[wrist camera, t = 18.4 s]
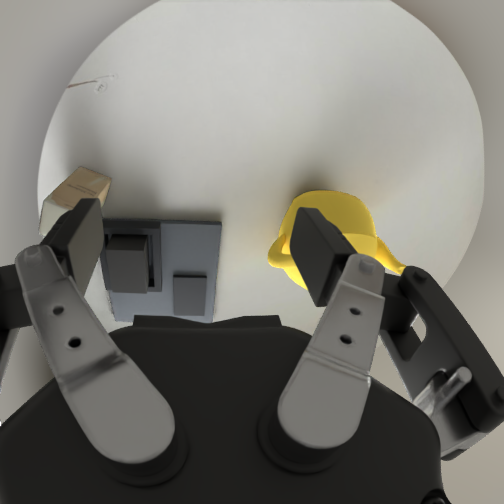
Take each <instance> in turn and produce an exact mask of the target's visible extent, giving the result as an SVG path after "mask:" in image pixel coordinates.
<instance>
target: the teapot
mask: <svg viewBox="0 0 504 504" xmlns="http://www.w3.org/2000/svg"><path fill="white" fill-rule="evenodd" d="M299 207H308V208H317V209H318V210H319V211H320V212H321V213H322V215H323V216H324V217H325V218H326V220H328V221H330V222H331V223H333V224H334V225H335V226H337V227H338V228H339V230H340V231H341V232H342V235H344V236H345V237H346V238H347V240H348V241H349V242H350V243H351V245H352V246H353V247H354V248H355V250H356V251H357V252H358V253H360V254H365V255H368V256H371V257H373V258H375V259H376V260H378V261H379V262H380V263H381V264H382V265H383V266H385V267H387V268H388V269H390V270H392V271H394V272H396V273H398V274H402V272H403V270H404V268H405V267H406V265H404V264H402V263H400V262H399V261H398V260H397V259H396V258H395V257H394V256H393V255H392V253H391V252H390V250H389V249H388V247H387V246H386V245H385V243H384V242H383V241H382V240H381V239H380V238H379V237H377V236H376V230H375V225H374V222H373V219H372V216H371V214H370V212H369V211H368V209H367V207H366V206H365V205H364V204H363V202H362V201H361V200H360V199H358V198H357V197H355V196H352V195H349V194H346V193H342V192H338V191H329V190H317V191H309V192H306V193H303V194H301V195H300V196H297V197H295V198H294V200H293V201H292V204H291V206H290V207H289V209H288V211H287V213H286V215H285V217H284V219H283V221H282V224H281V227H280V231H279V236H278V239H277V240H276V241H275V242H274V243H273V245H272V246H271V248H270V250H269V252H268V262H269V263H270V265H272V266H273V267H277V268H283V269H284V270H285V272H286V273H287V274H288V276H289V277H290V278H291V279H292V280H293V281H294V282H296V283H297V284H299V285H300V286H301V287H303V288H305V289H307V287H306V285H305V283H304V281H303V279H302V277H301V274H300V272H299V270H298V268H297V266H296V264H295V262H294V260H293V258H292V256H291V254H290V248H289V244H290V238H291V234H292V229H293V225H294V221H295V217H296V213H297V210H298V208H299ZM307 290H308V289H307Z"/></svg>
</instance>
